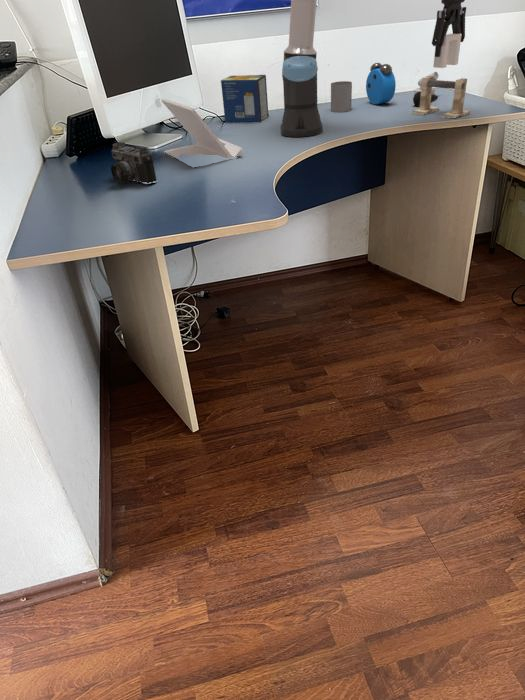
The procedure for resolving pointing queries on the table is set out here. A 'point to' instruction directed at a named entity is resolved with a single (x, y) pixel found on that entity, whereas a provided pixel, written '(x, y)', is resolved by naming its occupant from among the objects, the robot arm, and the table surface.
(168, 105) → the tablet stand
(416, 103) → the microphone
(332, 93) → the cup
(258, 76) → the protein box
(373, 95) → the alarm clock
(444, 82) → the hook stand
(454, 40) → the notched white block
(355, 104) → the table surface
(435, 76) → the wall hook
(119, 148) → the camera
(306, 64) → the robot arm
